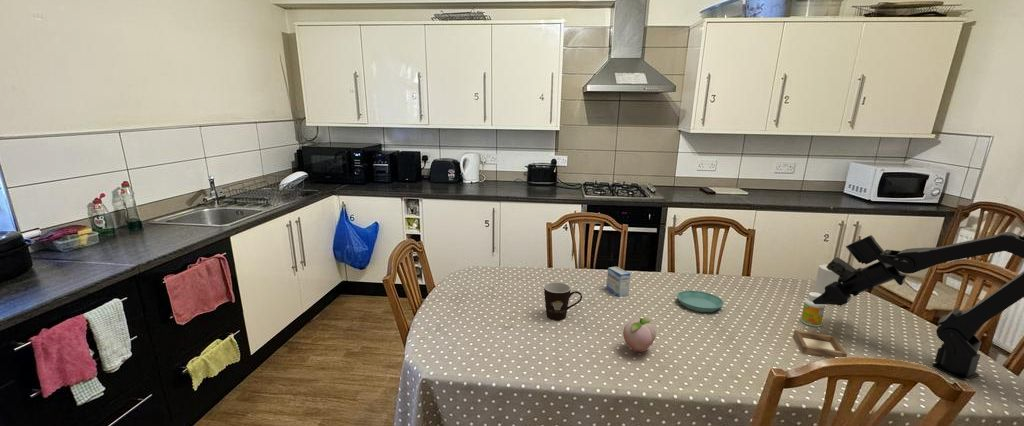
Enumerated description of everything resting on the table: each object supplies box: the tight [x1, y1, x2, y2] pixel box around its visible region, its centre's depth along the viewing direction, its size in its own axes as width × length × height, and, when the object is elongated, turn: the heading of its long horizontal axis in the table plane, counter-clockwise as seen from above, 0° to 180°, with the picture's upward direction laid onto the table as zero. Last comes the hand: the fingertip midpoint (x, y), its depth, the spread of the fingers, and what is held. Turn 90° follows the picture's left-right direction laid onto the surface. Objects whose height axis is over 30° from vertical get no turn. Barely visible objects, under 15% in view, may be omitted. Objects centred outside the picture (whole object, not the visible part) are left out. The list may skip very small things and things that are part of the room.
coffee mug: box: [543, 281, 583, 322], centre depth 135 cm, size 12×9×10 cm
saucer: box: [676, 290, 725, 313], centre depth 146 cm, size 15×15×3 cm
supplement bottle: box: [800, 291, 826, 328], centre depth 134 cm, size 5×5×10 cm
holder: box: [792, 329, 848, 359], centre depth 120 cm, size 10×10×2 cm
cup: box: [813, 263, 840, 294], centre depth 151 cm, size 8×8×12 cm
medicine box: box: [605, 266, 631, 298], centre depth 155 cm, size 8×4×9 cm, turn 25°
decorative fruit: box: [622, 317, 657, 353], centre depth 116 cm, size 9×8×10 cm
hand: (818, 298), depth 132 cm, fingers open, 9 cm apart
